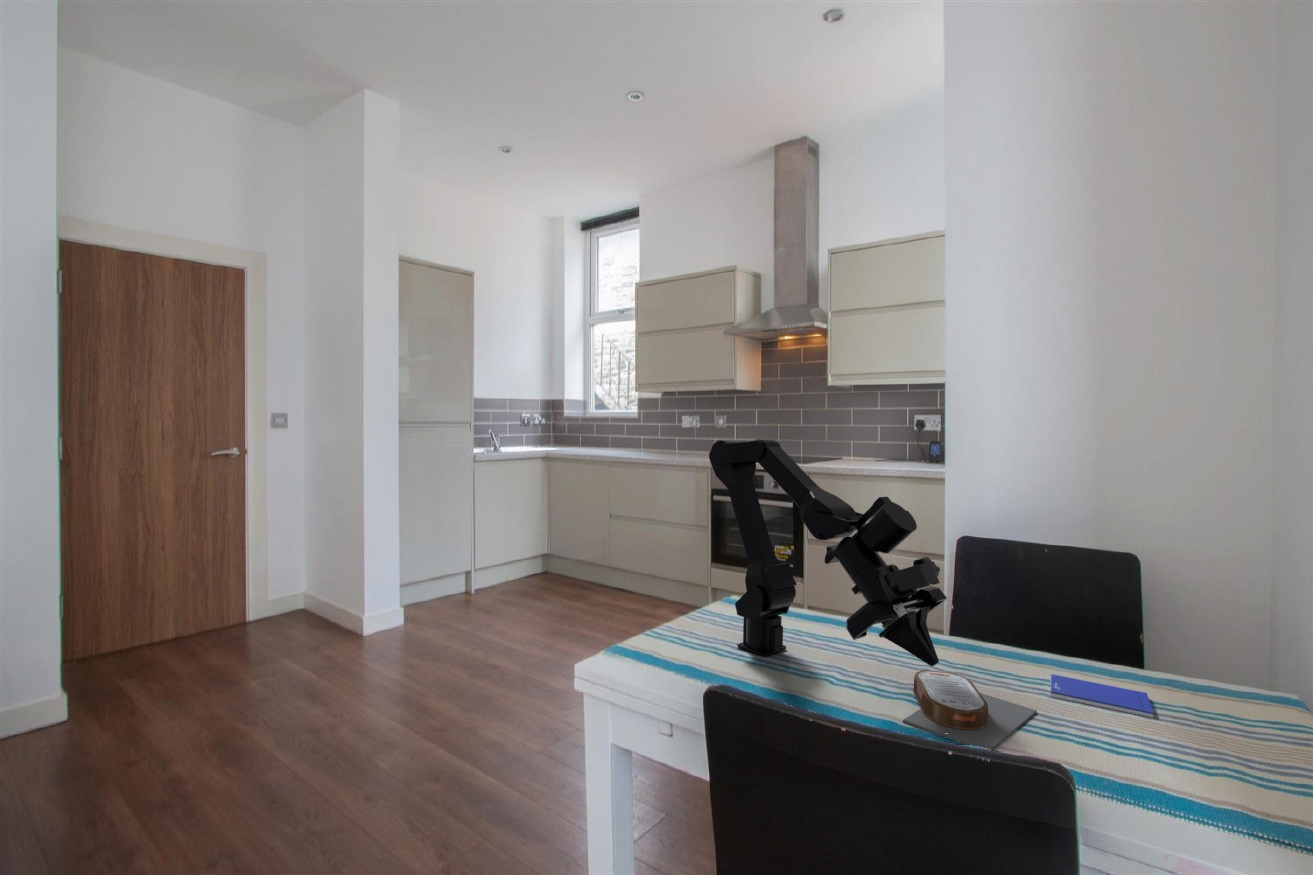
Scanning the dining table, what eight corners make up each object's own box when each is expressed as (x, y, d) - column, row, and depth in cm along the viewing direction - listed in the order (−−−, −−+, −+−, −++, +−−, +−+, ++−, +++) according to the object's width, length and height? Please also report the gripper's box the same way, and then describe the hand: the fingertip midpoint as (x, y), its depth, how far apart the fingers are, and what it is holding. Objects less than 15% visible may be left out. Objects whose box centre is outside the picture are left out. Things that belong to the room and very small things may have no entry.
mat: (902, 721, 86) (902, 719, 86) (957, 687, 98) (957, 685, 98) (988, 753, 78) (988, 751, 78) (1036, 712, 90) (1036, 710, 90)
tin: (929, 726, 84) (997, 737, 82) (931, 702, 84) (1000, 714, 82) (907, 682, 99) (964, 691, 97) (909, 662, 99) (966, 671, 97)
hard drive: (1050, 689, 96) (1153, 710, 89) (1050, 672, 103) (1146, 691, 96) (1050, 700, 96) (1153, 722, 89) (1050, 682, 103) (1146, 701, 96)
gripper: (866, 545, 87) (942, 648, 78) (935, 534, 98) (1008, 622, 90) (818, 590, 93) (883, 690, 84) (888, 574, 104) (952, 661, 96)
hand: (935, 664), depth 88 cm, fingers closed
